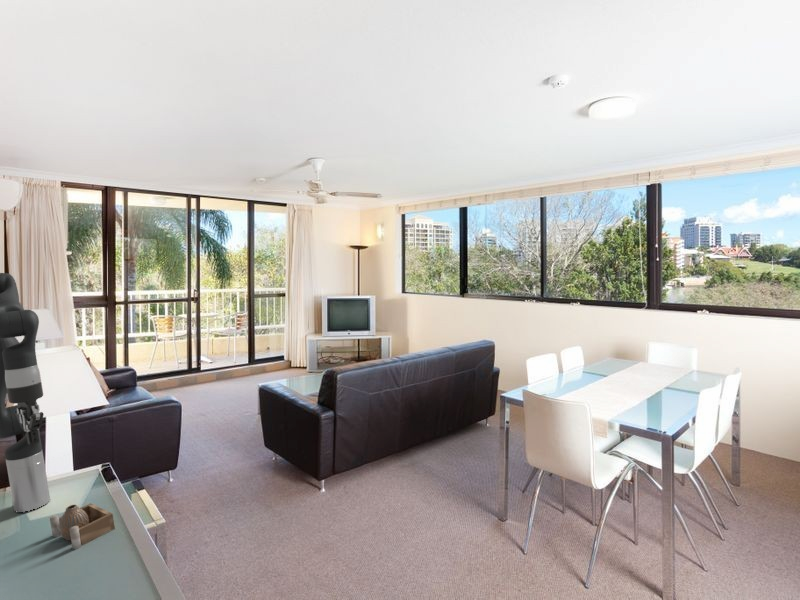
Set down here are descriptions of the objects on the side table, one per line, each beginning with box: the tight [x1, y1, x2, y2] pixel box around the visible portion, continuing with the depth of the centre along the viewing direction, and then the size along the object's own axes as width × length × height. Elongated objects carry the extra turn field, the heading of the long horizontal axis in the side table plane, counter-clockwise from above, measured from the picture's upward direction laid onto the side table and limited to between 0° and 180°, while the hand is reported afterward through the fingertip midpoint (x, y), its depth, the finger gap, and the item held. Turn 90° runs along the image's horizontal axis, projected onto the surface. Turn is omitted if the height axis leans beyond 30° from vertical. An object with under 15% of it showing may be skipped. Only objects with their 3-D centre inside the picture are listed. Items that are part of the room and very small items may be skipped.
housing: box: [49, 503, 116, 550], centre depth 132 cm, size 14×10×6 cm
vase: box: [59, 504, 90, 541], centre depth 130 cm, size 7×7×9 cm
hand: (33, 443), depth 130 cm, fingers closed
